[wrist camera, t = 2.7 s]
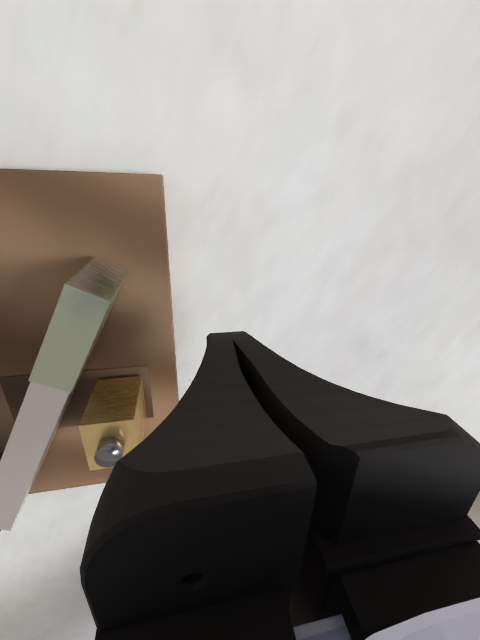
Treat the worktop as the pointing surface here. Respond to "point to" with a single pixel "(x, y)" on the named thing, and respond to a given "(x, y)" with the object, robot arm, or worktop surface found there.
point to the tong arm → (55, 378)
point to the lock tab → (113, 421)
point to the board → (47, 284)
